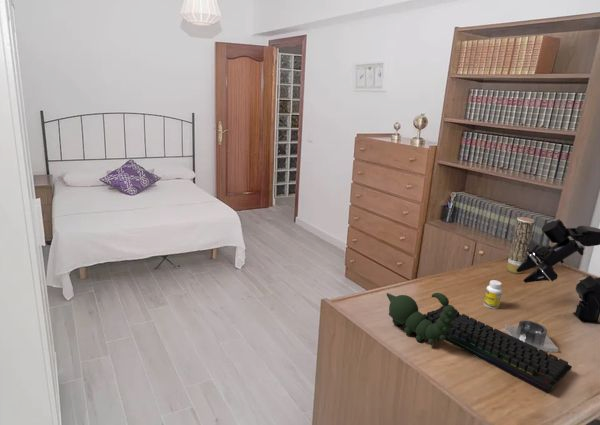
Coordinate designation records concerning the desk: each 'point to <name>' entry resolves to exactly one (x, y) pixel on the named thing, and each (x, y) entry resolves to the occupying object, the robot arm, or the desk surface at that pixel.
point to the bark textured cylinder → (520, 243)
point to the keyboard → (505, 351)
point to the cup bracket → (532, 335)
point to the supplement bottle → (493, 294)
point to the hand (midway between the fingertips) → (520, 276)
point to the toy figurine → (421, 318)
